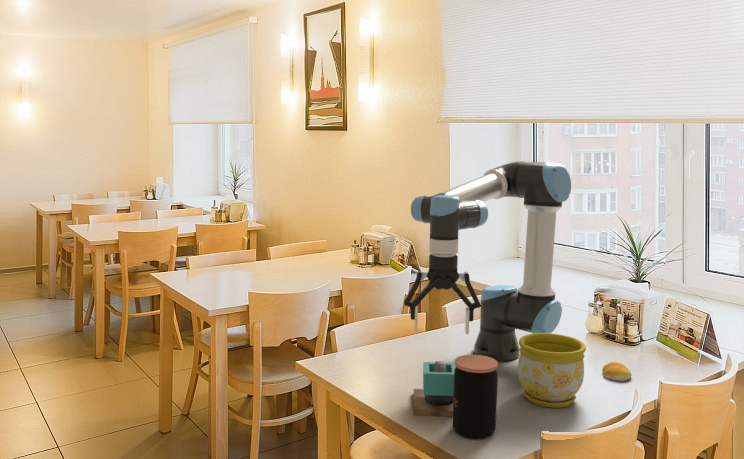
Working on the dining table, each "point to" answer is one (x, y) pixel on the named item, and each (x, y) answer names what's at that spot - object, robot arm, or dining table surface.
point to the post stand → (433, 399)
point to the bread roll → (616, 371)
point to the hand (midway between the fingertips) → (441, 332)
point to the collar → (438, 380)
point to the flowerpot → (551, 368)
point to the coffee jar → (475, 396)
